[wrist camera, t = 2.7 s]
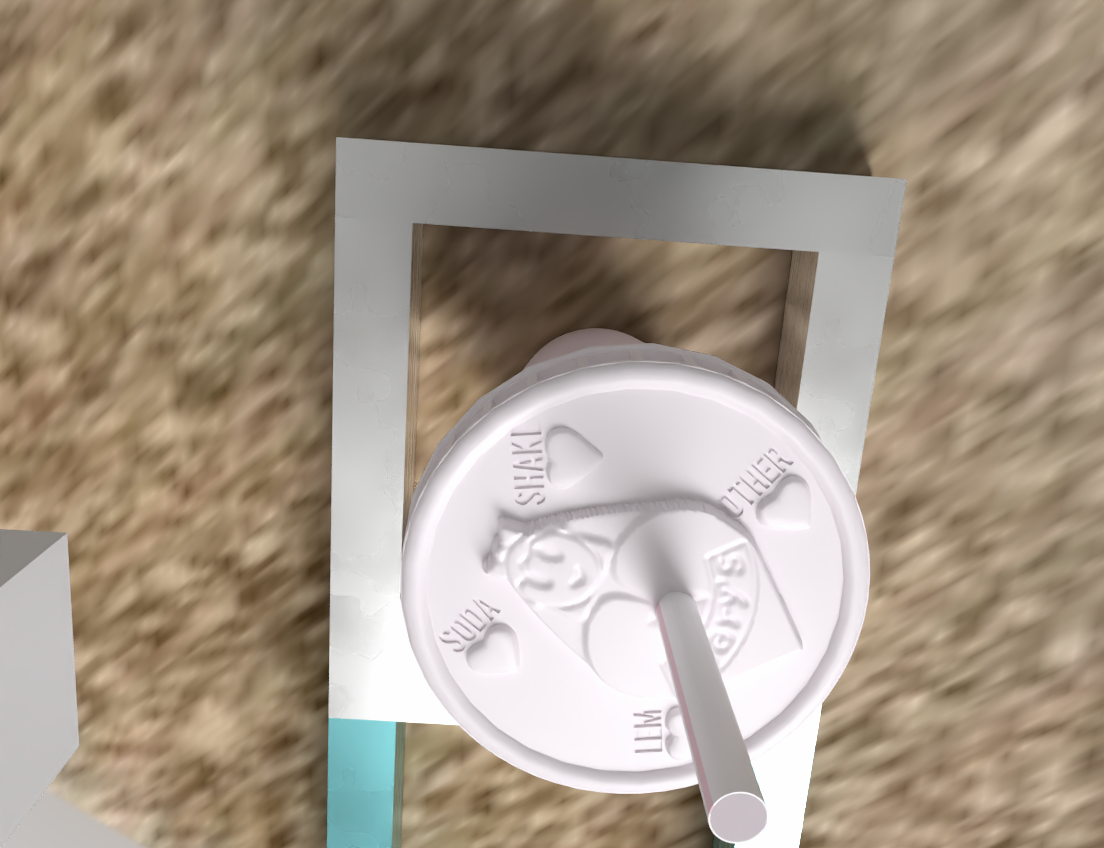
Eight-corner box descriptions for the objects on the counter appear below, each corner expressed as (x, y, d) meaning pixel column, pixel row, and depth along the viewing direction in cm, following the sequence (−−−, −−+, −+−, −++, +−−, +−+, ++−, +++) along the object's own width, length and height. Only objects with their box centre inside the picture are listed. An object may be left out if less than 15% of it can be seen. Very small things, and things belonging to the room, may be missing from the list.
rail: (354, 138, 21) (336, 137, 19) (873, 176, 21) (906, 179, 19) (339, 989, 27) (324, 1054, 25) (745, 1007, 27) (762, 1073, 25)
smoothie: (674, 575, 24) (858, 1144, 10) (416, 490, 23) (245, 981, 9) (780, 322, 22) (1164, 599, 9) (505, 224, 21) (453, 358, 8)
